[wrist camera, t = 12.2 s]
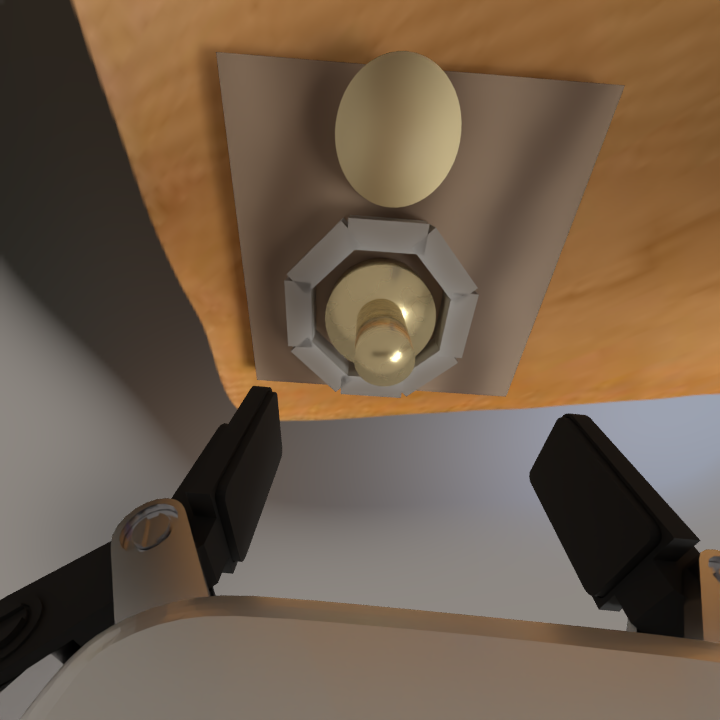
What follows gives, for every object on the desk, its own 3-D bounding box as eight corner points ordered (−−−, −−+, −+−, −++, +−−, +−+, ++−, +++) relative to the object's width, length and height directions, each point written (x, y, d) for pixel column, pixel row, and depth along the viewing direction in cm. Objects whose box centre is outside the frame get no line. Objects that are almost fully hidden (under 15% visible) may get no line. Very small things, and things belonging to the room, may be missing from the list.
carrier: (603, 93, 16) (658, 72, 13) (498, 385, 26) (516, 412, 23) (228, 63, 16) (195, 33, 13) (262, 369, 25) (248, 394, 22)
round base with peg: (437, 260, 19) (471, 295, 13) (422, 356, 23) (443, 418, 17) (327, 255, 19) (310, 288, 13) (329, 352, 23) (315, 413, 17)
